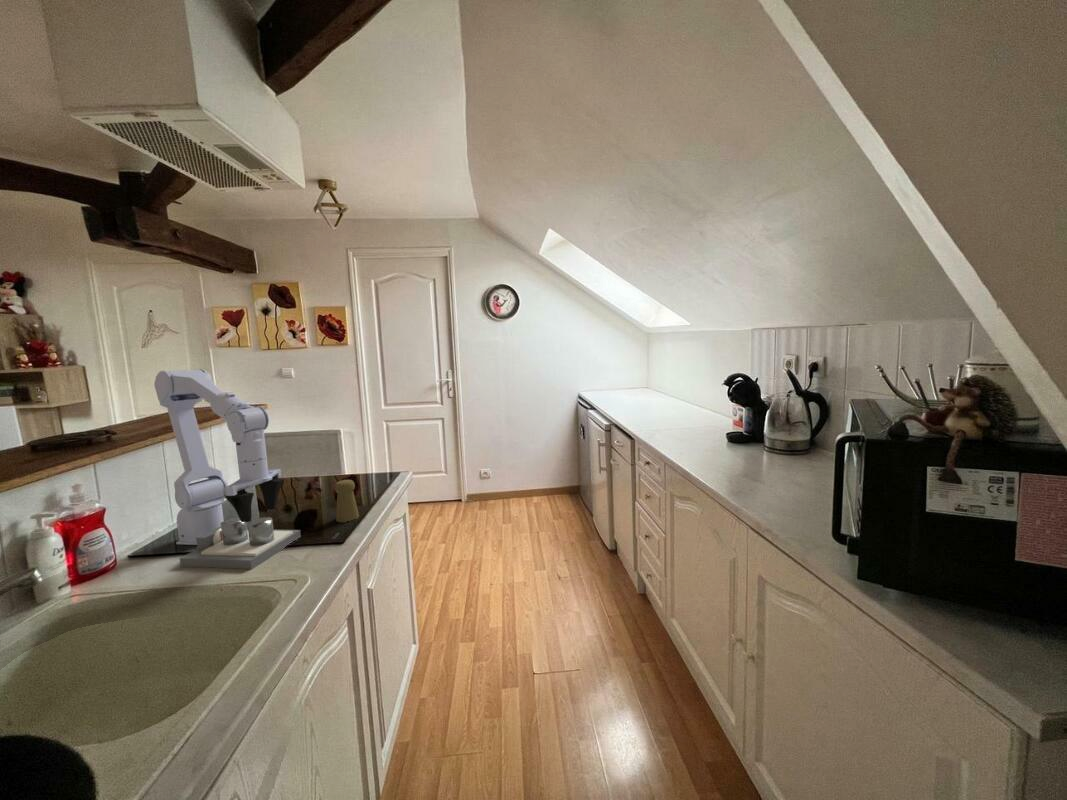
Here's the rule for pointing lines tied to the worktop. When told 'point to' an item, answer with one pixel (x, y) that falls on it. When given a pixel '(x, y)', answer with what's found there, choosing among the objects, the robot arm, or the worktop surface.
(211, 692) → the worktop surface
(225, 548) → the kitchen scale
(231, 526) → the cylinder
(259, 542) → the cylinder
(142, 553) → the worktop surface
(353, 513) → the cork
